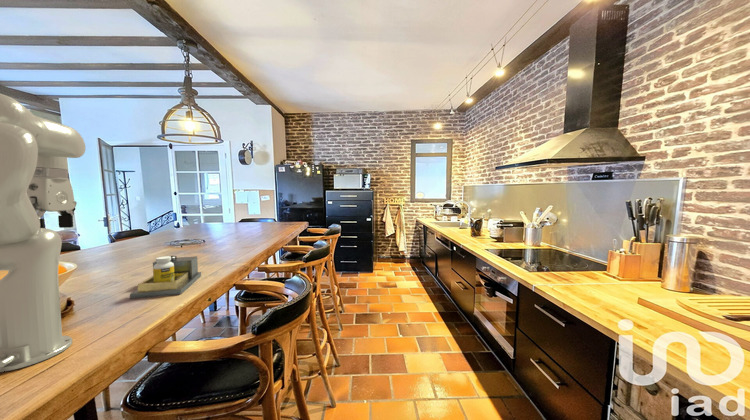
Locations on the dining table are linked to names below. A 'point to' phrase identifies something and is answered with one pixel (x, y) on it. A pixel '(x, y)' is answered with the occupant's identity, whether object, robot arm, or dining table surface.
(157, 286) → the tray
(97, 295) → the dining table surface
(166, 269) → the pill bottle
